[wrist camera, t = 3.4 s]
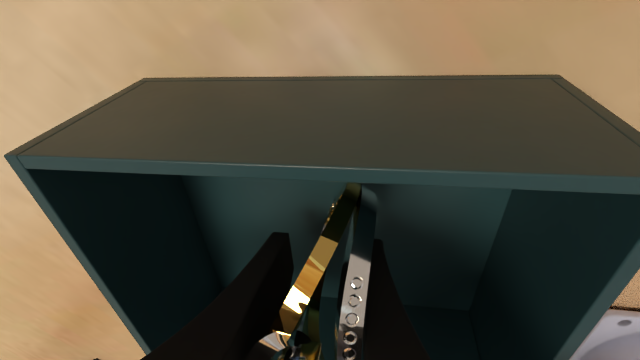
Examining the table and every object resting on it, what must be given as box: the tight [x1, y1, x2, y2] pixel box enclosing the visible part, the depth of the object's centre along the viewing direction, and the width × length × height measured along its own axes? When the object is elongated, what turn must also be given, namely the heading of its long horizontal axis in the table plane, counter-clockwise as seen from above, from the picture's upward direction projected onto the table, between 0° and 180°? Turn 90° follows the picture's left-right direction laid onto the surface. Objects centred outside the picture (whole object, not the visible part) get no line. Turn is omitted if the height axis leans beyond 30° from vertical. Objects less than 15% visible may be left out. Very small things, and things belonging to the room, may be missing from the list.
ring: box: [246, 182, 377, 360], centre depth 11 cm, size 7×3×8 cm, turn 160°
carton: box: [4, 75, 640, 360], centre depth 13 cm, size 13×15×6 cm
